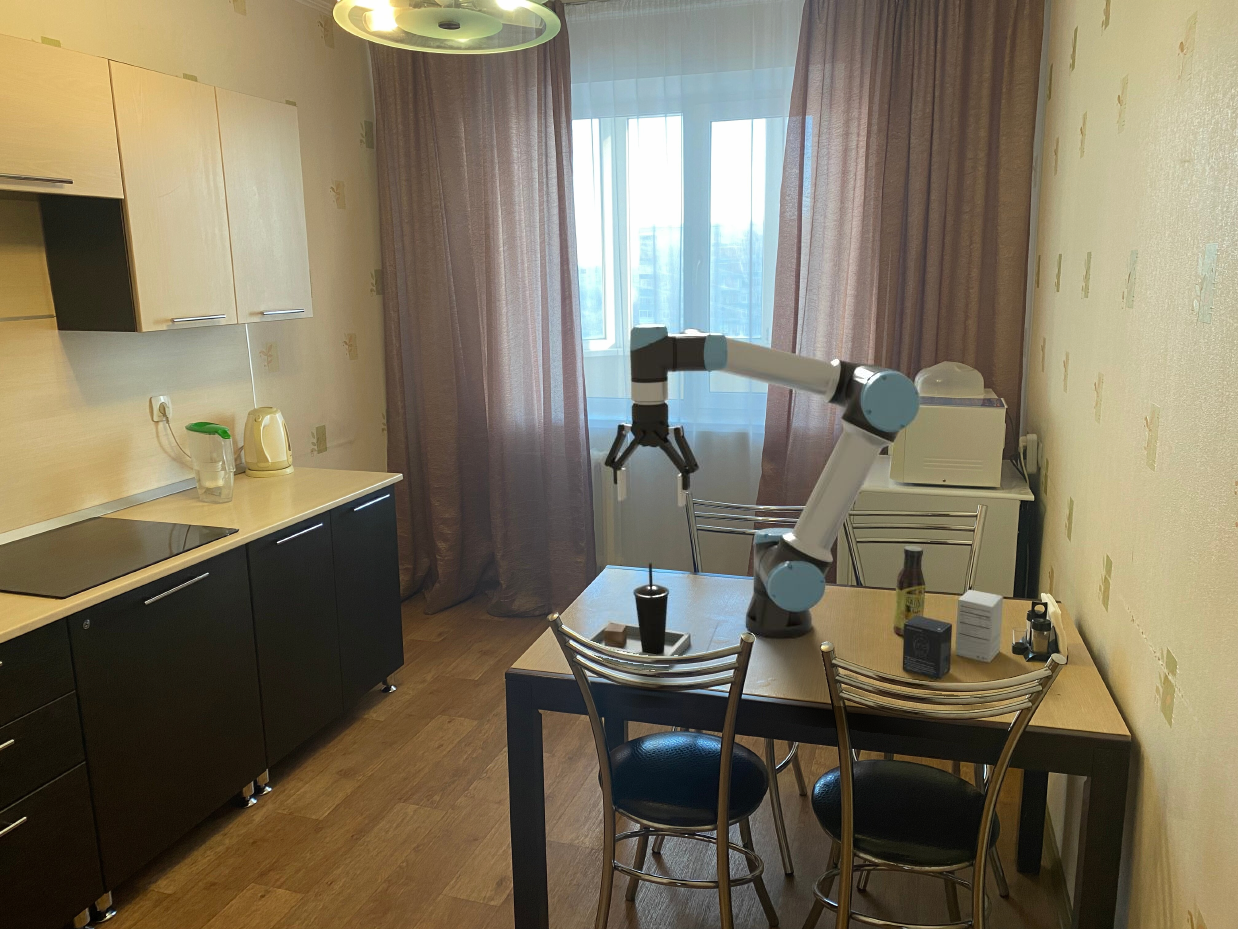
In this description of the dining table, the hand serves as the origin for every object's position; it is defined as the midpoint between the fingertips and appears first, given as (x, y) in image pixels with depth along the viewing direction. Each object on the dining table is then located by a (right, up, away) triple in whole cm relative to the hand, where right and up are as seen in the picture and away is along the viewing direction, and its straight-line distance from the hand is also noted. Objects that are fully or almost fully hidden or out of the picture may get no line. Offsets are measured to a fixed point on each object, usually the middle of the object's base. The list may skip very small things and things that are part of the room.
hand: (651, 502), depth 188 cm
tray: (-3, -33, +9) cm, 34 cm away
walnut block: (-8, -32, +11) cm, 35 cm away
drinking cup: (+1, -33, +7) cm, 34 cm away
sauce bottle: (+59, -30, +15) cm, 68 cm away
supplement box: (+70, -33, +4) cm, 77 cm away
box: (+56, -35, -4) cm, 66 cm away
